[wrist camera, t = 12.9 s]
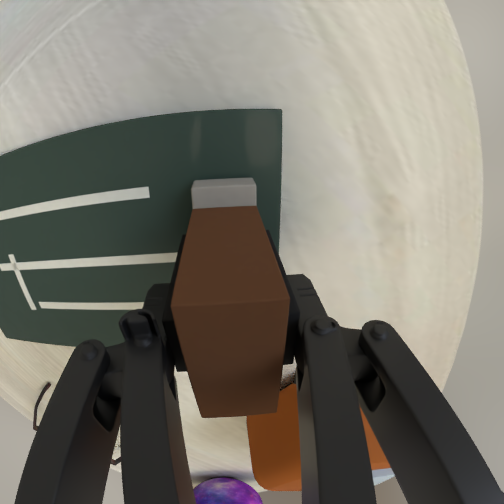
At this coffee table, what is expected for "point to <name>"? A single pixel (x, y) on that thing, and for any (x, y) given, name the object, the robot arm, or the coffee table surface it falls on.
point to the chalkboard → (117, 214)
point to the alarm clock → (294, 446)
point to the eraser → (230, 303)
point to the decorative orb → (225, 492)
